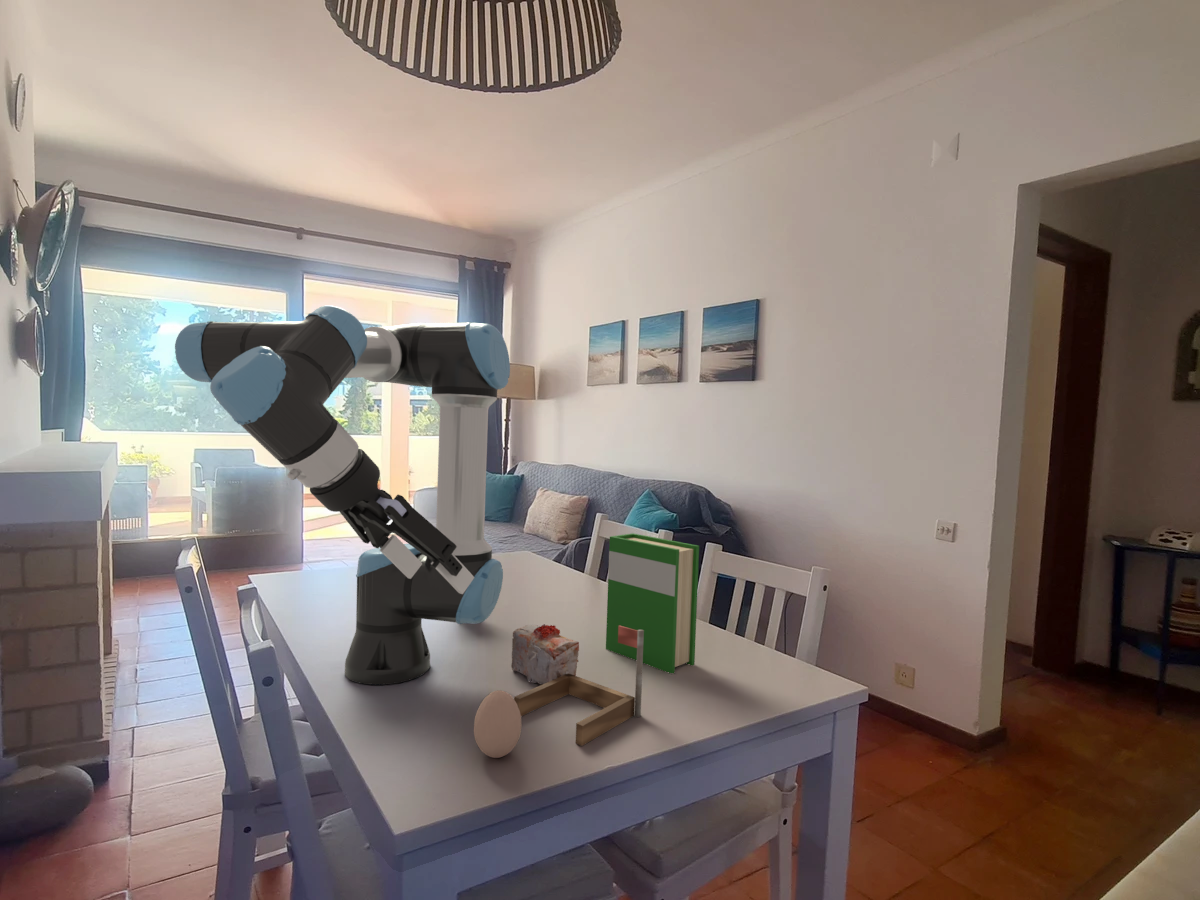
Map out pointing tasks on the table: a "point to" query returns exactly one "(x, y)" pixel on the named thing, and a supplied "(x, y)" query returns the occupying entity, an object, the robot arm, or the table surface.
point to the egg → (497, 724)
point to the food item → (543, 653)
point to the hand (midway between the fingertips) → (440, 577)
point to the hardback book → (653, 598)
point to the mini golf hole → (592, 695)
